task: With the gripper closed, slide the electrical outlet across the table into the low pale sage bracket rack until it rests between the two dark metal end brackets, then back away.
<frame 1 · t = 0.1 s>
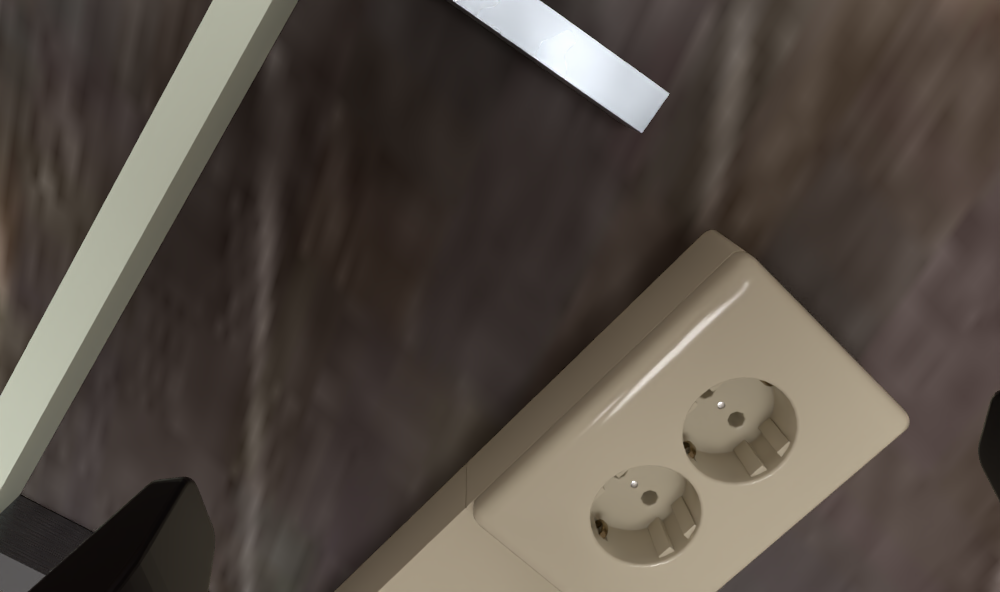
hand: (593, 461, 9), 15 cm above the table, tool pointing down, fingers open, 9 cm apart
electrical outlet: (581, 483, 27), on the table
bracket rack: (297, 316, 24), on the table
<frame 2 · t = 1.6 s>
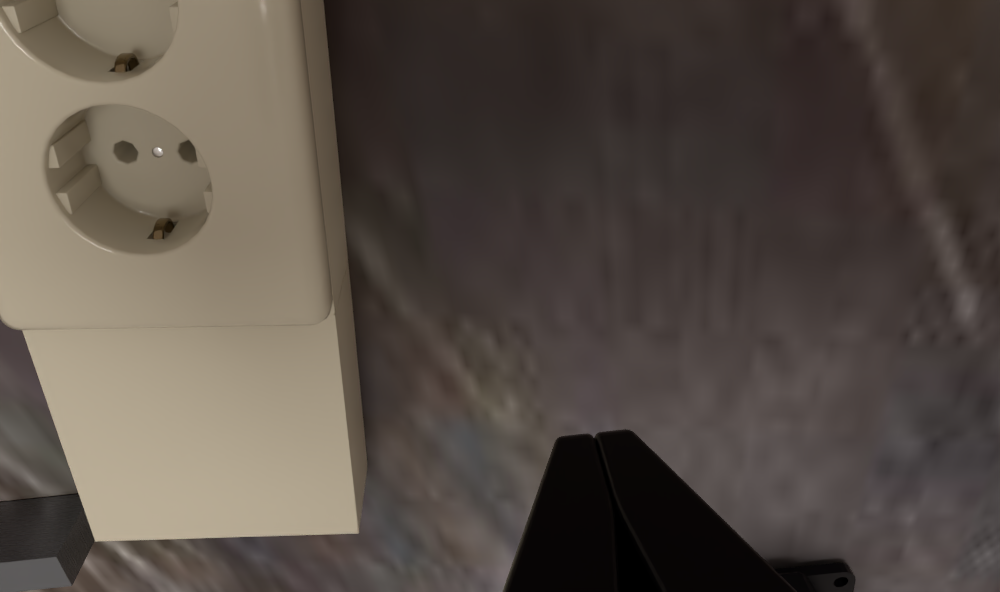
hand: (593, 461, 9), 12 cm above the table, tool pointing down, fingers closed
electrical outlet: (203, 187, 20), on the table
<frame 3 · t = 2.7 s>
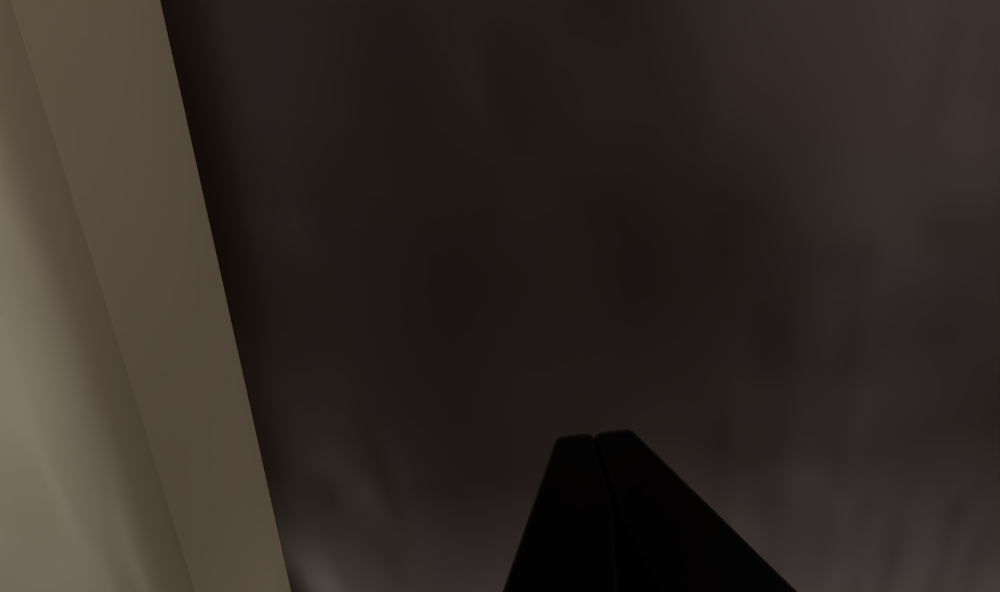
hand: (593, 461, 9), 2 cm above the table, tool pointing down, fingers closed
electrical outlet: (36, 498, 12), on the table
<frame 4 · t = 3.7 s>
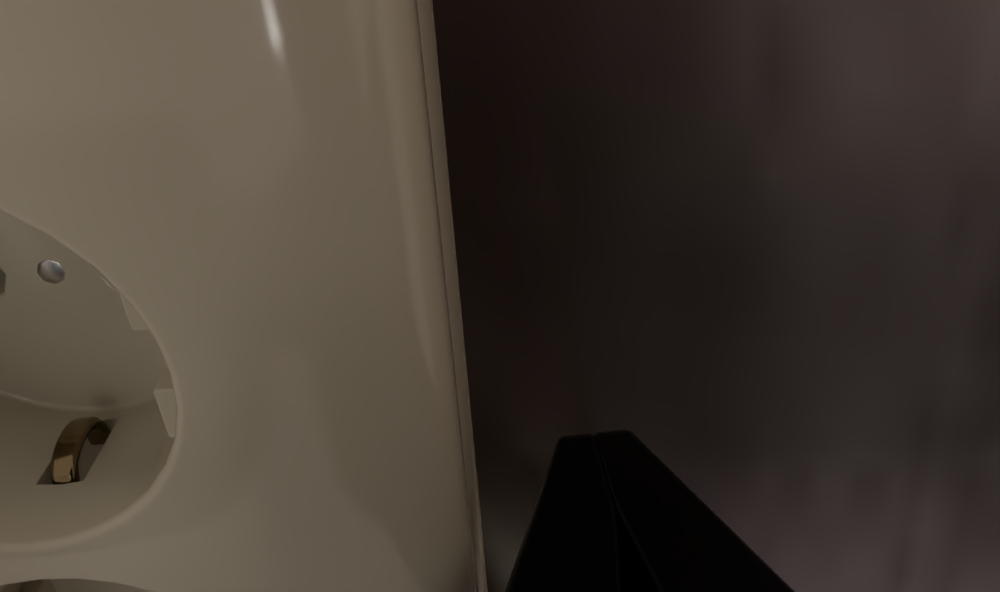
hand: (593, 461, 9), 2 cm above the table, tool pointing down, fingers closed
electrical outlet: (243, 506, 12), on the table, touching gripper
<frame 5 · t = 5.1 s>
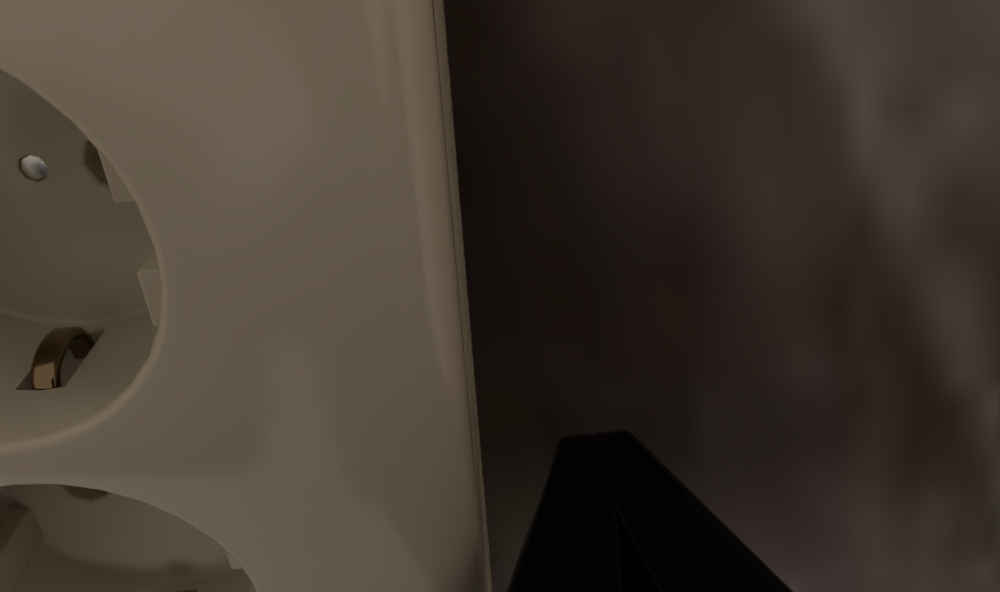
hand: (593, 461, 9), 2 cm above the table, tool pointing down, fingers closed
electrical outlet: (237, 455, 12), on the table, touching gripper
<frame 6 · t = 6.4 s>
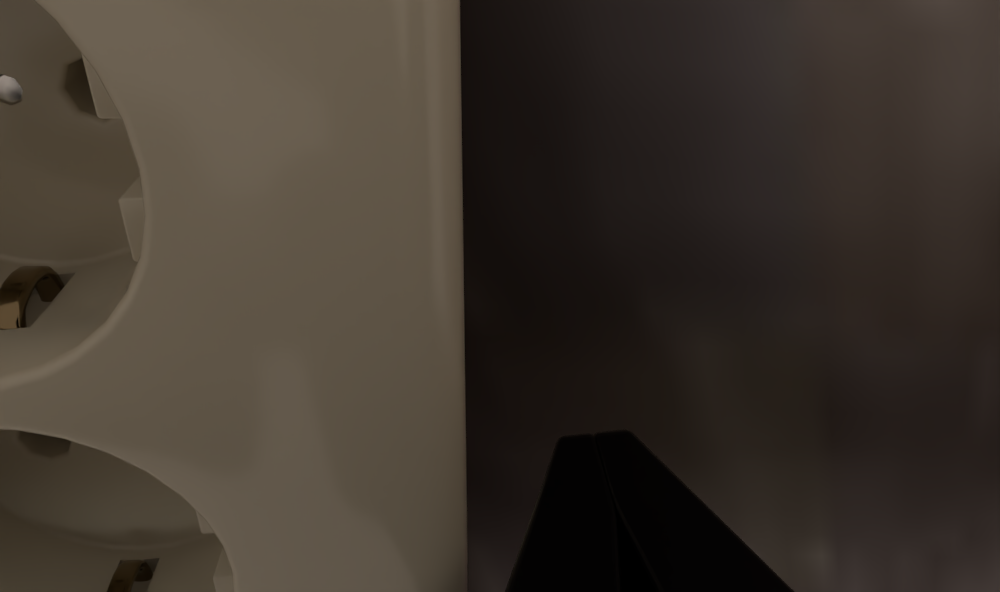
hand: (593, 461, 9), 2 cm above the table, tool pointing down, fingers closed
electrical outlet: (206, 423, 11), on the table, touching bracket rack
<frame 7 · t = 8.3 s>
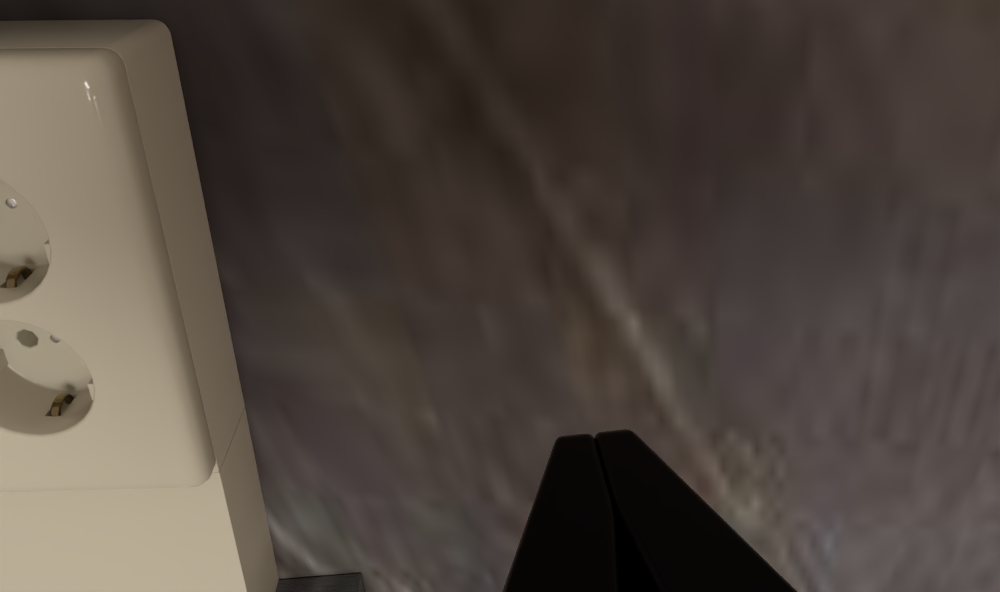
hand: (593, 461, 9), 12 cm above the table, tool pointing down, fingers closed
electrical outlet: (112, 345, 23), on the table
bracket rack: (118, 327, 22), on the table
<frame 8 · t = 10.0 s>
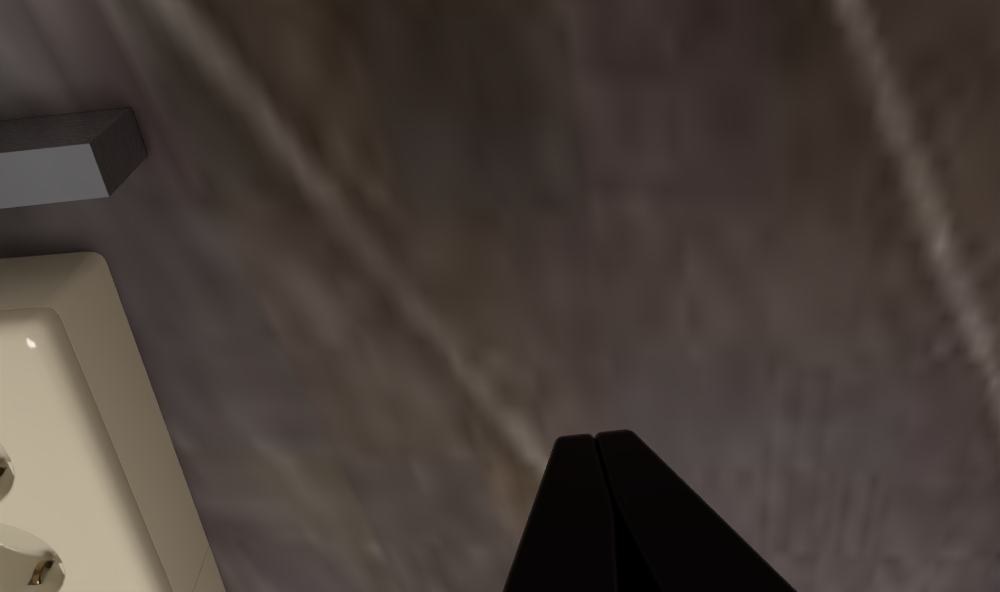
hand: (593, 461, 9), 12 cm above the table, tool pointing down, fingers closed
electrical outlet: (87, 500, 26), on the table
bracket rack: (91, 488, 24), on the table
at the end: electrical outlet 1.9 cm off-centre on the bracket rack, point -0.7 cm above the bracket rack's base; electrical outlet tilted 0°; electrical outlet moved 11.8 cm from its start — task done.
